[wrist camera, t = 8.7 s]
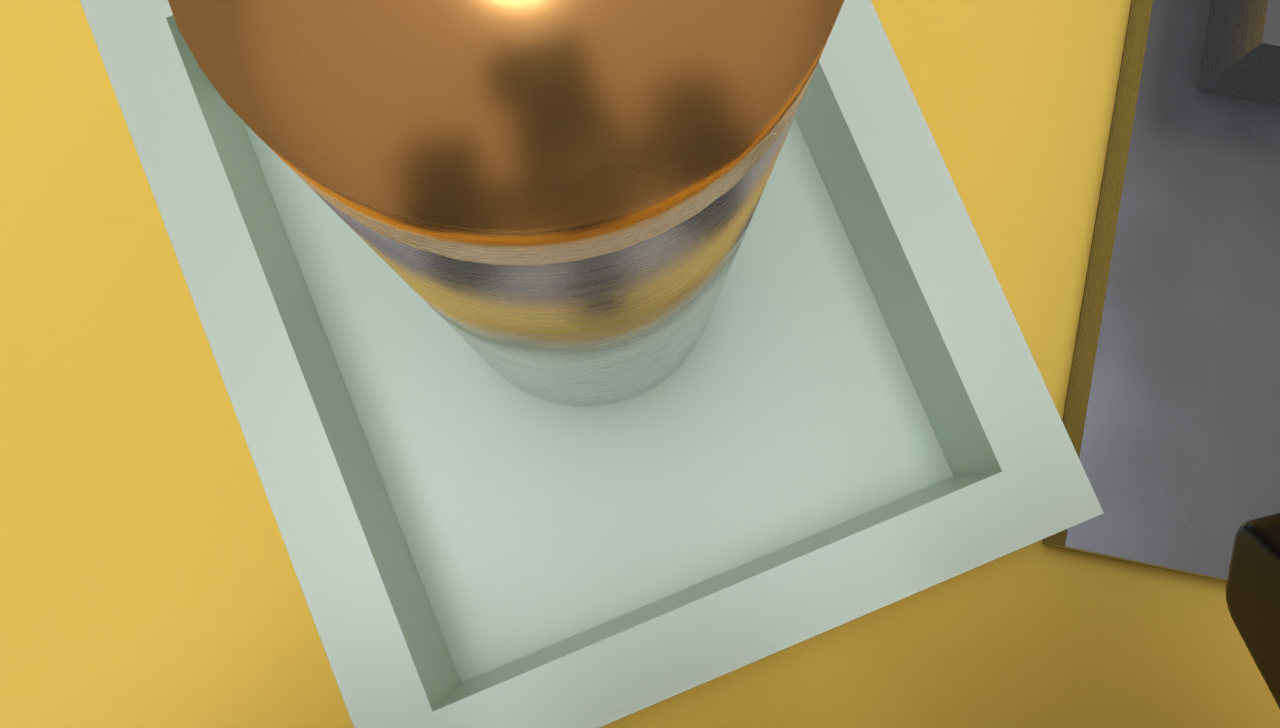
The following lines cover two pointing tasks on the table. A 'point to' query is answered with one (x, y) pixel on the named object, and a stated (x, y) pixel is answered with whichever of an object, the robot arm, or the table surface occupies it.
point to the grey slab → (1184, 293)
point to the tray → (613, 417)
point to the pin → (532, 156)
